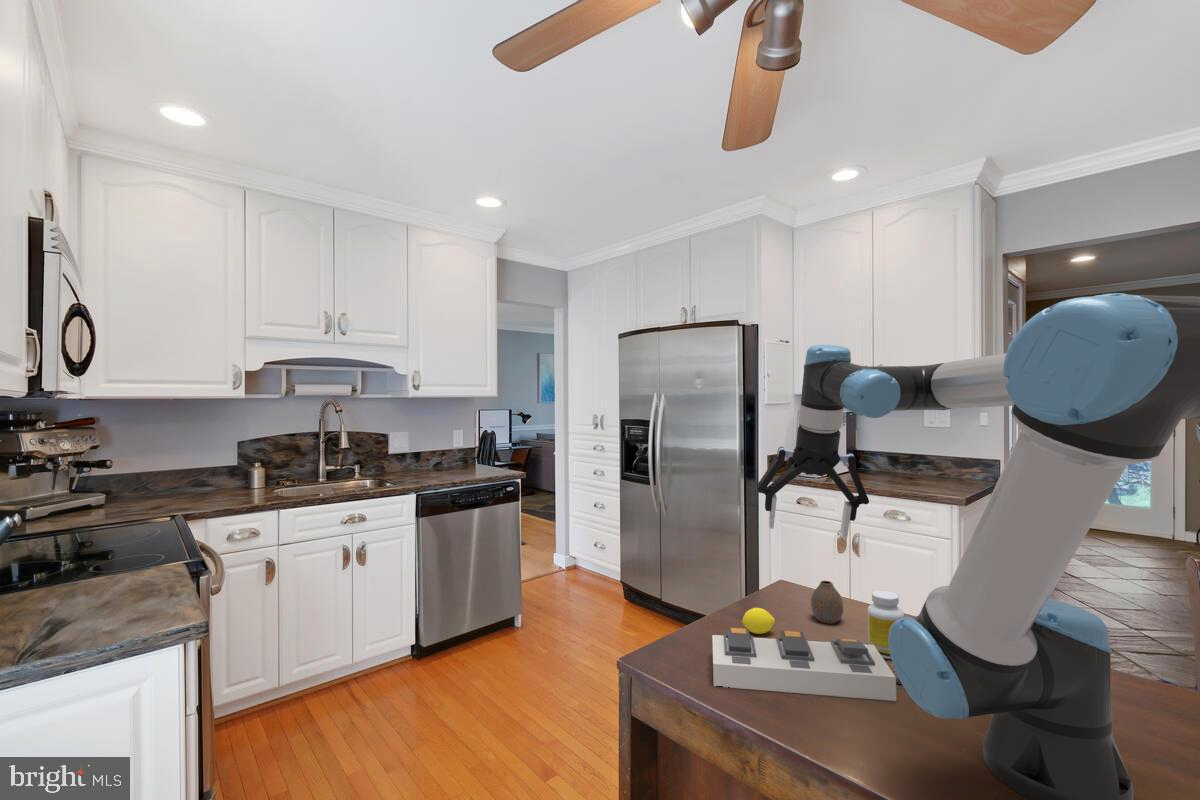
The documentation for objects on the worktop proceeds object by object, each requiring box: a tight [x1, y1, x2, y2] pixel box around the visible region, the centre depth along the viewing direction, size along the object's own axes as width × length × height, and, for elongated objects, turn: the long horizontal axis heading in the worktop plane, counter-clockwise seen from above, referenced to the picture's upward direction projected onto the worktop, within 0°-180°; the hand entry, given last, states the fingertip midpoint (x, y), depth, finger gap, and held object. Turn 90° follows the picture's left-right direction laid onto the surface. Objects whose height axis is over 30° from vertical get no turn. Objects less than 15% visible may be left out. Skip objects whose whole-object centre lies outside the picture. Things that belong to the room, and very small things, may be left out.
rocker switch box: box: [711, 633, 902, 702], centre depth 97 cm, size 12×40×5 cm, turn 79°
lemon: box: [741, 607, 776, 635], centre depth 116 cm, size 7×5×5 cm
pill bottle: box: [867, 590, 905, 660], centre depth 106 cm, size 6×6×12 cm
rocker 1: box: [727, 626, 751, 653], centre depth 101 cm, size 6×4×1 cm, turn 169°
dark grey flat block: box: [780, 630, 809, 656], centre depth 99 cm, size 6×4×1 cm, turn 169°
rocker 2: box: [835, 638, 868, 655], centre depth 97 cm, size 6×4×1 cm, turn 168°
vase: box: [810, 580, 844, 625], centre depth 122 cm, size 7×7×9 cm
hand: (806, 530), depth 105 cm, fingers open, 13 cm apart
